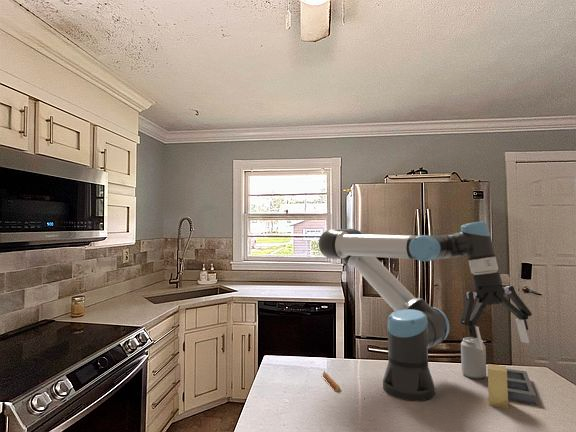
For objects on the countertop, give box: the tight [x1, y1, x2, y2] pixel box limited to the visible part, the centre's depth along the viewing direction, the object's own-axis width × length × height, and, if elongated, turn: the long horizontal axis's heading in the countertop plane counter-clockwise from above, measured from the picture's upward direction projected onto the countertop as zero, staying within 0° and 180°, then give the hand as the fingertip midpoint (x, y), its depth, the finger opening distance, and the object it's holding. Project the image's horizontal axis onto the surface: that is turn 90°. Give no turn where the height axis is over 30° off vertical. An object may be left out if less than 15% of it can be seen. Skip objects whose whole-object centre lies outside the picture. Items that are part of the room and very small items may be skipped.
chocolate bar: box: [321, 371, 342, 393], centre depth 116 cm, size 3×12×2 cm, turn 15°
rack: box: [506, 368, 537, 406], centre depth 112 cm, size 9×20×2 cm, turn 153°
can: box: [460, 337, 487, 380], centre depth 123 cm, size 8×8×12 cm
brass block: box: [487, 363, 509, 410], centre depth 102 cm, size 4×4×10 cm
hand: (502, 345), depth 105 cm, fingers open, 13 cm apart
